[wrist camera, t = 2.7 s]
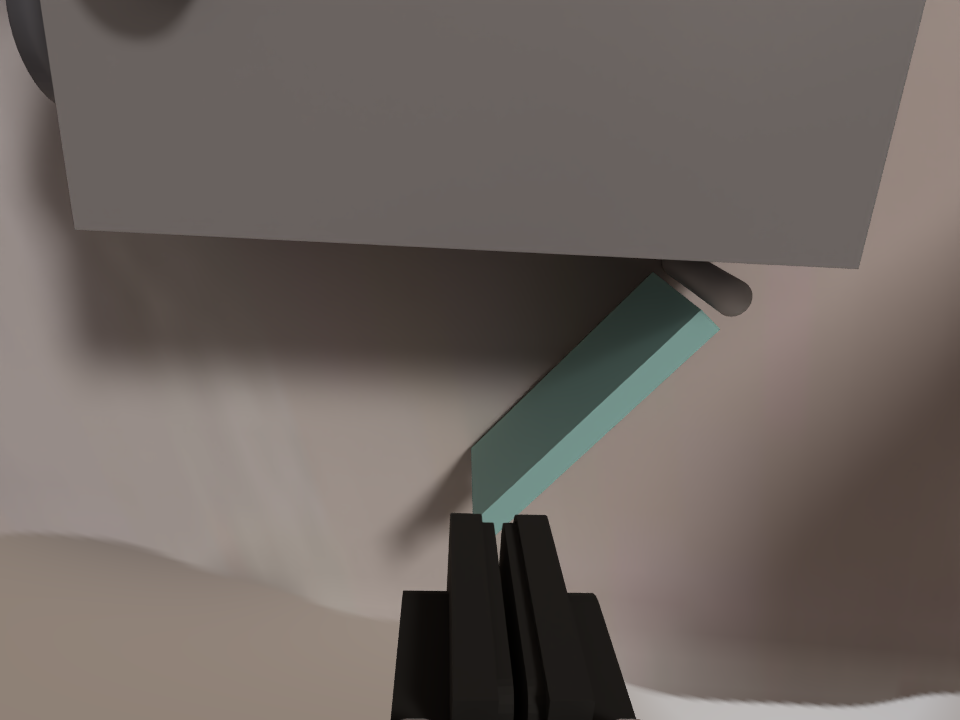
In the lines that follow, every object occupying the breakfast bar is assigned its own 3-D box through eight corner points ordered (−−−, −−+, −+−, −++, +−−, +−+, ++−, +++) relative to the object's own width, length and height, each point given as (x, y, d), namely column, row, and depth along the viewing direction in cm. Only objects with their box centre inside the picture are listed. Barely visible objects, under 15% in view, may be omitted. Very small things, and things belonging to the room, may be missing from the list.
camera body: (799, -89, 19) (1018, -227, 12) (738, 240, 22) (877, 300, 15) (106, -140, 18) (-144, -323, 11) (145, 209, 22) (-26, 256, 14)
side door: (677, 240, 22) (736, 272, 17) (707, 270, 23) (771, 309, 18) (469, 444, 25) (470, 520, 20) (498, 468, 25) (506, 549, 20)
